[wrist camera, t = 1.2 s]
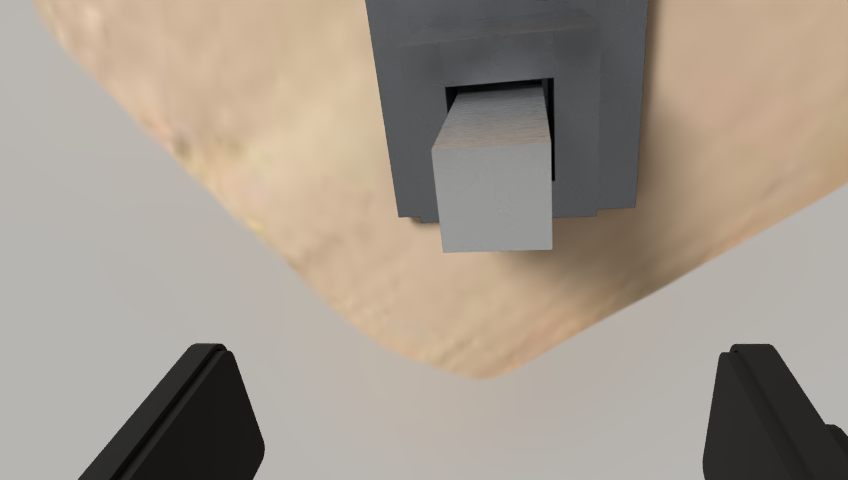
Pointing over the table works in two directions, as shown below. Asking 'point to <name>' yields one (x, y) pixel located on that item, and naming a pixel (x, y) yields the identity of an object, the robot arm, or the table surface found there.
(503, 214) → the bar
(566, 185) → the jack base
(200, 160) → the table surface
